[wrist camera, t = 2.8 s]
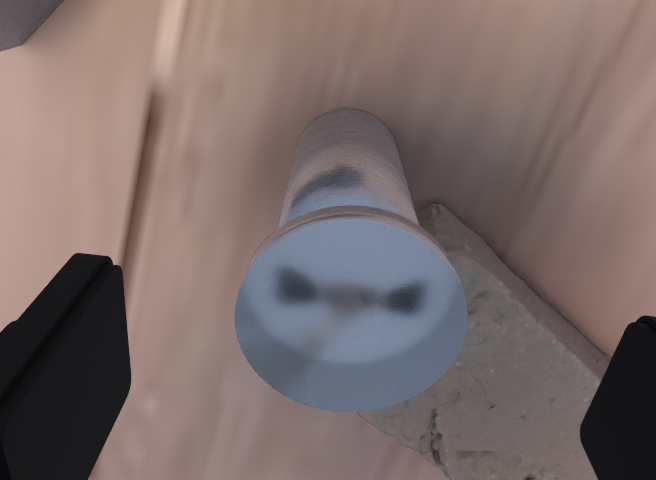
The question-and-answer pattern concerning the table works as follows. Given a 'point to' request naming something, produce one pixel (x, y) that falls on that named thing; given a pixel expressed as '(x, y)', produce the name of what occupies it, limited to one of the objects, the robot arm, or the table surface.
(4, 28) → the grey cross-shaped holder
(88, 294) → the robot arm
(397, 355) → the hinge pin
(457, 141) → the table surface
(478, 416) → the brick
